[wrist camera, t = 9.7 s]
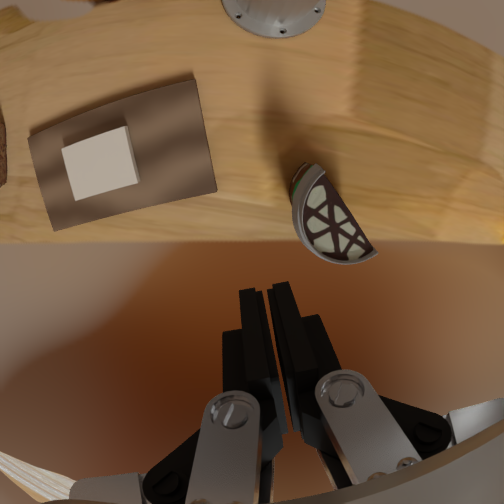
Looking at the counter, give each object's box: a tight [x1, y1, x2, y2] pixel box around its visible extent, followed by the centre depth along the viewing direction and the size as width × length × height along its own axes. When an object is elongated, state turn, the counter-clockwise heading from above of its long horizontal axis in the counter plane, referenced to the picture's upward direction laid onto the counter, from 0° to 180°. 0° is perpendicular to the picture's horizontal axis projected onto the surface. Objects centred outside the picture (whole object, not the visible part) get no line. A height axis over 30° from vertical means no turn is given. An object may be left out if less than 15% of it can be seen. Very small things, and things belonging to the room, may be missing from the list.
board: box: [28, 79, 217, 232], centre depth 34 cm, size 14×24×1 cm, turn 99°
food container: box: [289, 162, 378, 264], centre depth 35 cm, size 12×6×10 cm, turn 39°
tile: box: [61, 126, 140, 201], centre depth 33 cm, size 7×2×9 cm
